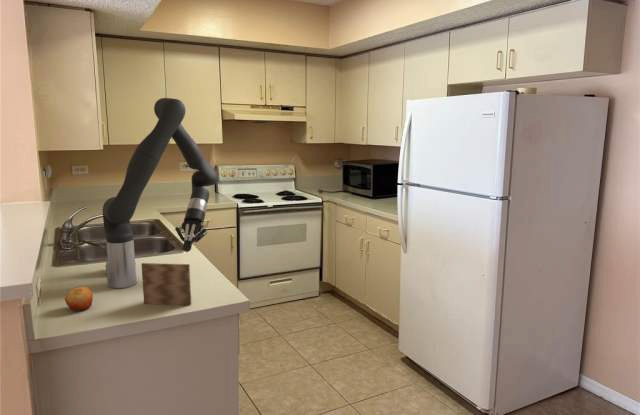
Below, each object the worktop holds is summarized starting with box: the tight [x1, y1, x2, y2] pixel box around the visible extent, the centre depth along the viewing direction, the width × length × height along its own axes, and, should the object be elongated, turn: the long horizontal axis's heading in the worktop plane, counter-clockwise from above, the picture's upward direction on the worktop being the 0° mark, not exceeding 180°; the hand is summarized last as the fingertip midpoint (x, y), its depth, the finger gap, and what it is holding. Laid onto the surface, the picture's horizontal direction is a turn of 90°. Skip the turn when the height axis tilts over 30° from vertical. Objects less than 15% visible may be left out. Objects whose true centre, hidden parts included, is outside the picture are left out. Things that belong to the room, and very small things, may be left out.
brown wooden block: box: [141, 262, 192, 306], centre depth 153 cm, size 16×6×14 cm, turn 87°
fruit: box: [64, 286, 94, 311], centre depth 148 cm, size 8×8×8 cm
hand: (186, 250), depth 171 cm, fingers closed
